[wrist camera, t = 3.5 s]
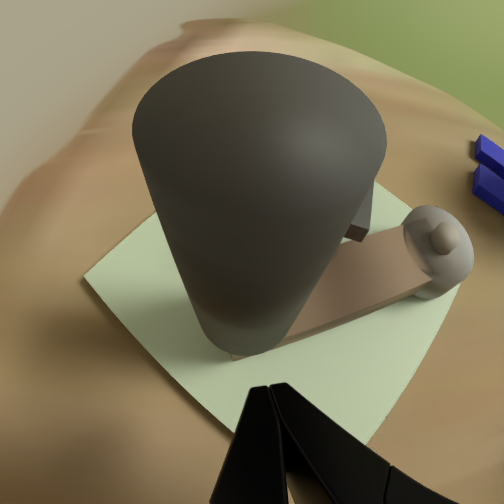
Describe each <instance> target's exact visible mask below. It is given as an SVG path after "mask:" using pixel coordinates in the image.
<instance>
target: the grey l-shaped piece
mask: <svg viewBox="0 0 504 504" xmlns="http://www.w3.org/2000/svg"><path fill="white" fill-rule="evenodd" d="M132 136H133V141H134V145H135V149H136V152H137V155H138V158H139V162H140V165H141V168H142V171H143V174H144V177H145V180H146V183H147V186H148V189H149V192H150V195H151V198H152V201H153V204H154V207H155V209H156V212H157V215H158V218H159V221H160V224H161V226H162V229H163V232H164V235H165V237H166V240H167V243H168V245H169V248H170V251H171V253H172V256H173V259H174V261H175V264H176V267H177V269H178V272H179V274H180V277H181V279H182V282H183V284H184V287H185V289H186V292H187V294H188V297H189V299H190V302H191V304H192V307H193V309H194V312H195V314H196V316H197V319H198V321H199V323H200V326H201V328H202V330H203V332H204V334H205V335H206V337H207V338H208V339H209V340H210V341H211V342H212V343H213V344H214V345H215V346H216V347H218V348H219V349H221V350H223V351H225V352H227V353H230V355H231V358H232V361H233V362H234V361H238V360H241V359H244V358H248V357H251V356H254V355H258V354H262V353H264V352H267V351H270V350H273V349H276V348H279V347H282V346H285V345H288V344H290V343H293V342H296V341H299V340H302V339H305V338H308V337H310V336H313V335H316V334H319V333H321V332H324V331H327V330H329V329H332V328H335V327H337V326H340V325H343V324H345V323H348V322H350V321H353V320H355V319H358V318H360V317H363V316H365V315H368V314H370V313H373V312H375V311H377V310H380V309H382V308H385V307H387V306H389V305H392V304H394V303H396V302H398V301H401V300H403V299H405V298H408V297H410V296H412V295H415V296H417V297H420V298H423V299H435V298H438V297H441V296H442V295H444V294H445V293H447V292H448V291H449V290H451V289H452V288H454V287H455V286H456V285H458V284H459V283H460V282H462V281H463V280H464V279H465V278H466V277H468V275H469V274H470V272H471V270H472V267H473V262H474V253H473V247H472V243H471V241H470V238H469V236H468V234H467V232H466V231H465V229H464V227H463V226H462V225H461V224H460V222H459V221H458V220H457V219H456V218H455V217H453V216H452V215H451V214H450V213H448V212H446V211H445V210H443V209H441V208H438V207H435V206H428V205H426V206H419V207H416V208H415V209H413V210H412V211H411V212H410V213H409V214H408V215H407V216H406V218H405V219H404V220H403V222H402V223H401V225H400V226H397V227H394V228H390V229H387V230H384V231H380V232H377V233H374V234H371V235H367V236H365V238H364V239H363V241H362V242H357V241H354V240H350V241H347V242H344V243H341V241H342V239H343V237H344V235H345V233H346V232H347V230H348V228H349V226H350V224H351V222H352V221H353V219H354V217H355V215H356V213H357V211H358V209H359V207H360V206H361V204H362V202H363V200H364V198H365V196H366V194H367V192H368V190H369V188H370V186H371V184H372V182H373V180H374V178H375V177H376V175H377V173H378V171H379V169H380V167H381V164H382V162H383V159H384V157H385V152H386V147H387V139H386V131H385V127H384V124H383V121H382V119H381V116H380V114H379V113H378V111H377V109H376V108H375V106H374V105H373V103H372V102H371V101H370V100H369V98H368V97H367V96H366V95H365V94H364V93H363V92H362V91H361V90H360V89H359V88H358V87H356V86H355V85H354V84H353V83H351V82H350V81H349V80H347V79H346V78H344V77H343V76H341V75H339V74H338V73H336V72H334V71H332V70H330V69H328V68H326V67H324V66H322V65H319V64H317V63H314V62H311V61H308V60H305V59H302V58H298V57H294V56H290V55H285V54H279V53H271V52H257V51H247V52H232V53H224V54H218V55H213V56H209V57H205V58H202V59H199V60H196V61H193V62H190V63H188V64H186V65H183V66H181V67H179V68H177V69H176V70H174V71H172V72H170V73H169V74H167V75H166V76H164V77H163V78H161V79H160V80H159V81H158V82H157V83H155V84H154V85H153V86H152V87H151V88H150V89H149V91H148V92H147V93H146V94H145V95H144V97H143V98H142V100H141V101H140V103H139V105H138V107H137V109H136V112H135V114H134V119H133V123H132Z"/></svg>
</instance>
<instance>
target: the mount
mask: <svg viewBox="0 0 504 504" xmlns="http://www.w3.org/2000/svg"><path fill="white" fill-rule="evenodd" d="M475 158H476V159H477V160H479V161H480V162H482V163H483V164H484V165H486V166H487V167H489V168H490V169H491V170H493V171H494V172H496V173H497V174H498V175H499V176H500V177H501V178H500V177H499V176H498V175H496V174H495V173H493V172H492V171H491V170H489V169H488V168H486V167H485V166H484V165H482V164H481V163H480V164H479V166H478V167H477V168H476V170H475V171H474V180H473V190H472V193H473V194H474V195H476V196H477V197H479V198H480V199H482V200H483V201H485V202H486V203H487V204H489V205H490V206H491V207H493V208H494V209H496V210H497V211H498V212H500V213H501V214H502V215H504V150H503V149H502V148H500V147H499V146H497V145H496V144H495V143H493V142H492V141H490V140H489V139H488V138H486V137H485V136H483V135H482V134H481V135H480V136H479V138H478V139H477V141H476V149H475Z"/></svg>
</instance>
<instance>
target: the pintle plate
mask: <svg viewBox="0 0 504 504" xmlns="http://www.w3.org/2000/svg"><path fill="white" fill-rule="evenodd" d="M412 210H413V209H411V208H410V207H409V206H407V205H406V204H405V203H403V202H402V201H401V200H399V199H398V198H397V197H395V196H394V195H393V194H391V193H390V192H389V191H387V190H386V189H385V188H383V187H382V186H380V185H379V184H378V183H376V182H375V181H374V189H373V201H372V212H371V222H370V230H369V232H368V233H367V235H371V234H374V233H377V232H380V231H384V230H387V229H390V228H394V227H397V226H400V225H401V223H402V222H403V220H404V219H405V218H406V216H407V215H408V214H409V213H410V212H411V211H412ZM367 235H366V236H367ZM350 240H351V239H347V238H344V237H343V239H342V241H341V243H344V242H347V241H350ZM84 277H85V278H86V280H87V281H88V282H89V284H90V285H91V286H92V287H93V289H94V290H95V291H96V292H97V294H98V295H99V296H100V297H101V298H102V300H103V301H104V302H105V303H106V305H107V306H108V307H109V308H110V309H111V311H112V312H113V313H114V314H115V315H116V316H117V318H118V319H119V320H120V321H121V322H122V323H123V324H124V326H125V327H126V328H127V329H128V330H129V331H130V332H131V334H132V335H133V336H134V337H135V338H136V339H137V340H138V341H139V342H140V343H141V345H142V346H143V347H144V348H145V349H146V350H147V351H148V352H149V353H150V354H151V355H152V356H153V357H154V358H155V359H156V360H157V361H158V363H159V364H160V365H161V366H162V367H163V368H164V369H165V370H166V371H167V372H168V373H169V374H170V375H171V376H172V377H173V378H174V379H175V380H176V381H177V382H178V383H179V384H180V385H181V386H182V387H184V388H185V389H186V390H187V391H188V392H189V393H190V394H191V395H192V396H193V397H194V398H195V399H196V400H197V401H198V402H199V403H201V404H202V405H203V406H204V407H205V408H206V409H207V410H208V411H209V412H210V413H212V414H213V415H214V416H215V417H216V418H217V419H218V420H219V421H221V422H222V423H223V424H224V425H225V426H226V427H228V428H229V429H230V430H231V431H232V432H233V433H234V432H235V429H236V426H237V424H238V421H239V418H240V415H241V412H242V409H243V406H244V403H245V400H246V397H247V394H248V391H249V389H250V388H251V387H256V386H263V385H266V386H268V387H269V385H271V384H276V383H282V382H286V383H288V384H289V385H291V386H292V387H293V388H294V389H295V390H297V391H298V392H299V393H300V394H301V395H303V396H304V397H305V398H306V399H307V400H309V401H310V402H311V403H312V404H313V405H315V406H316V407H317V408H318V409H320V410H321V411H322V412H323V413H325V414H326V415H327V416H328V417H330V418H331V419H332V420H333V421H335V422H336V423H337V424H338V425H340V426H341V427H342V428H344V429H345V430H346V431H347V432H349V433H350V434H351V435H353V436H354V437H355V438H357V439H358V440H359V441H360V442H362V443H363V444H364V445H366V443H367V442H368V441H369V439H370V438H371V437H372V435H373V434H374V433H375V431H376V430H377V429H378V427H379V426H380V424H381V423H382V422H383V420H384V419H385V417H386V416H387V414H388V413H389V412H390V410H391V409H392V407H393V406H394V404H395V403H396V401H397V400H398V398H399V397H400V395H401V394H402V392H403V390H404V389H405V387H406V386H407V384H408V383H409V381H410V379H411V378H412V376H413V374H414V373H415V371H416V369H417V368H418V366H419V364H420V363H421V361H422V359H423V357H424V356H425V354H426V352H427V350H428V348H429V347H430V345H431V343H432V341H433V339H434V337H435V336H436V334H437V332H438V330H439V328H440V326H441V324H442V322H443V320H444V318H445V316H446V314H447V312H448V310H449V308H450V305H451V303H452V301H453V299H454V297H455V295H456V292H457V290H458V288H459V286H460V283H461V282H460V283H459V284H458V285H456V286H455V287H454V288H452V289H451V290H449V291H448V292H447V293H445V294H444V295H442V296H441V297H438V298H435V299H423V298H420V297H417V296H415V295H412V296H410V297H408V298H405V299H403V300H401V301H398V302H396V303H394V304H392V305H389V306H387V307H385V308H382V309H380V310H377V311H375V312H373V313H370V314H368V315H365V316H363V317H360V318H358V319H355V320H353V321H350V322H348V323H345V324H343V325H340V326H337V327H335V328H332V329H329V330H327V331H324V332H321V333H319V334H316V335H313V336H310V337H308V338H305V339H302V340H299V341H296V342H293V343H290V344H288V345H285V346H282V347H279V348H276V349H273V350H270V351H267V352H264V353H262V354H258V355H254V356H251V357H248V358H244V359H241V360H238V361H234V362H233V361H232V358H231V355H230V353H227V352H225V351H223V350H221V349H219V348H218V347H216V346H215V345H214V344H213V343H212V342H211V341H210V340H209V339H208V338H207V337H206V335H205V334H204V332H203V330H202V328H201V326H200V323H199V321H198V319H197V316H196V314H195V312H194V309H193V307H192V304H191V302H190V299H189V297H188V294H187V292H186V289H185V287H184V284H183V282H182V279H181V277H180V274H179V272H178V269H177V267H176V264H175V261H174V259H173V256H172V253H171V251H170V248H169V245H168V243H167V240H166V237H165V235H164V232H163V229H162V226H161V224H160V221H159V218H158V215H157V212H155V213H154V214H153V215H152V216H151V217H149V218H148V219H147V220H146V221H145V222H143V223H142V224H141V225H140V226H139V227H138V228H136V229H135V230H134V231H133V232H132V233H131V234H130V235H128V236H127V237H126V238H125V239H124V240H123V241H122V242H120V243H119V244H118V245H117V246H116V247H115V248H114V249H113V250H111V251H110V252H109V253H108V254H107V255H106V256H105V257H104V258H103V259H101V260H100V261H99V262H98V263H97V264H96V265H95V266H94V267H93V268H92V269H91V270H90V271H88V272H87V273H86V274H85V275H84Z"/></svg>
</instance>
